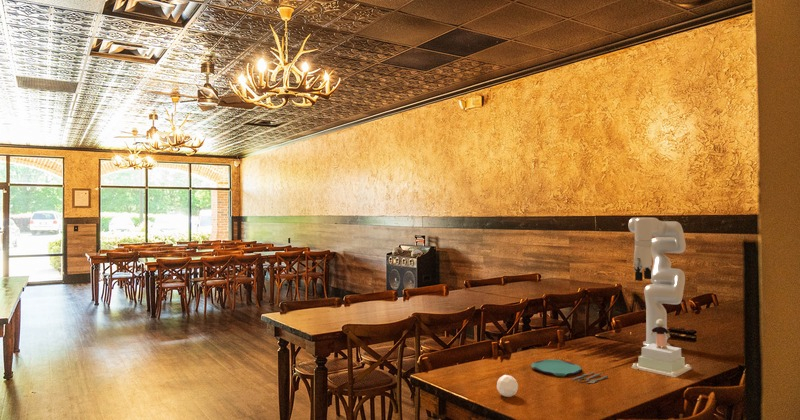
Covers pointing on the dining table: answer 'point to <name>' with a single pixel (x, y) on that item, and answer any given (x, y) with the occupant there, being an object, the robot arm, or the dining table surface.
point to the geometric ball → (507, 386)
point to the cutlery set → (562, 369)
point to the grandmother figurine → (660, 334)
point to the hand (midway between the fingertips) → (643, 279)
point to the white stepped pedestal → (662, 361)
